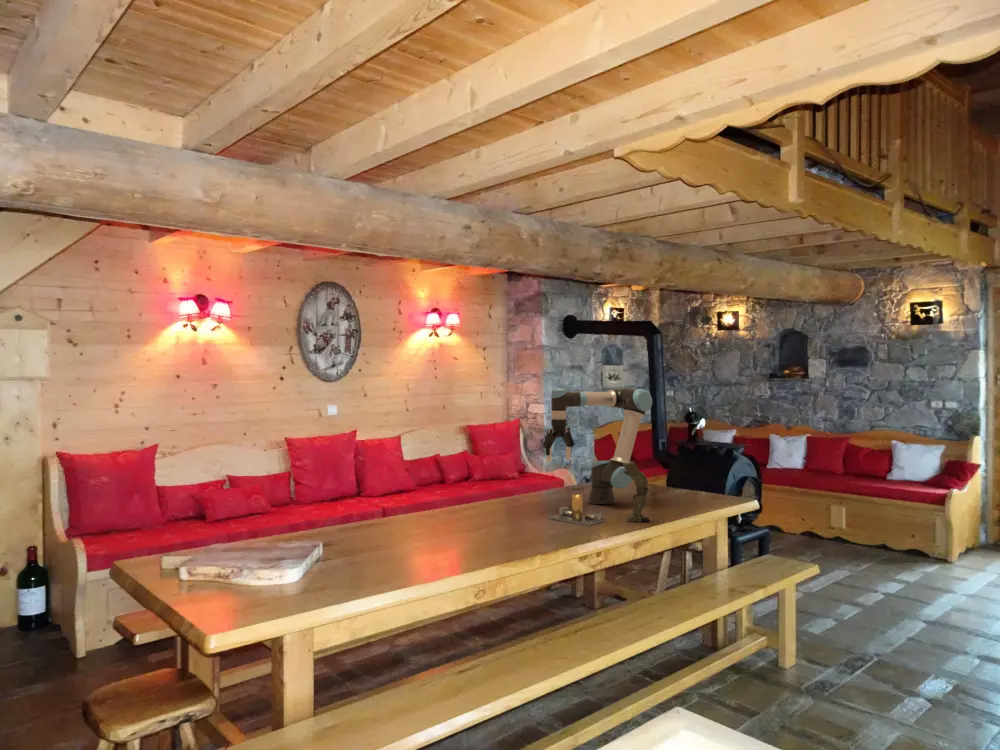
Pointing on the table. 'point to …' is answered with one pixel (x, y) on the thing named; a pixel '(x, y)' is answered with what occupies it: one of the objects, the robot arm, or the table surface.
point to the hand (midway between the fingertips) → (558, 460)
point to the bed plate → (586, 520)
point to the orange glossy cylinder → (577, 506)
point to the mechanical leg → (641, 492)
